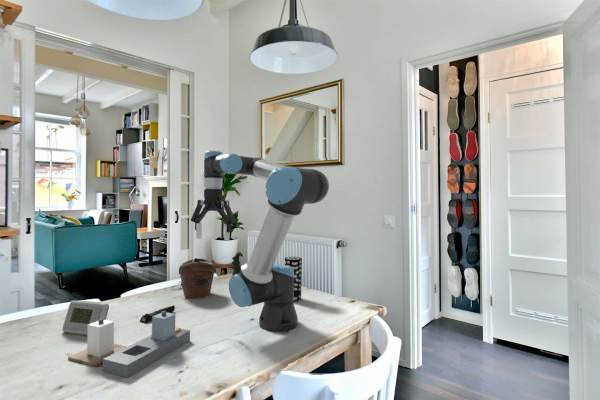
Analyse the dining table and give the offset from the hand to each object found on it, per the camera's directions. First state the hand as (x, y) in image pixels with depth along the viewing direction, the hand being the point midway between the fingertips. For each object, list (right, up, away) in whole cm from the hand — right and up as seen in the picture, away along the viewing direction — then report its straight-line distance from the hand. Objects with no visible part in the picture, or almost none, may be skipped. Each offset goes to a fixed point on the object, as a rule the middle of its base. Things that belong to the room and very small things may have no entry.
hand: (212, 239), depth 143 cm
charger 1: (-25, -31, -37) cm, 54 cm away
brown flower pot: (-15, -31, +29) cm, 45 cm away
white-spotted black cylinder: (+33, -32, +23) cm, 51 cm away
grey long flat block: (-10, -32, -36) cm, 49 cm away
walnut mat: (-25, -31, -37) cm, 55 cm away
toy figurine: (+7, -31, +47) cm, 57 cm away
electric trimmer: (-21, -32, -3) cm, 38 cm away
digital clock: (-40, -31, -20) cm, 55 cm away
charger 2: (-8, -30, -31) cm, 44 cm away
